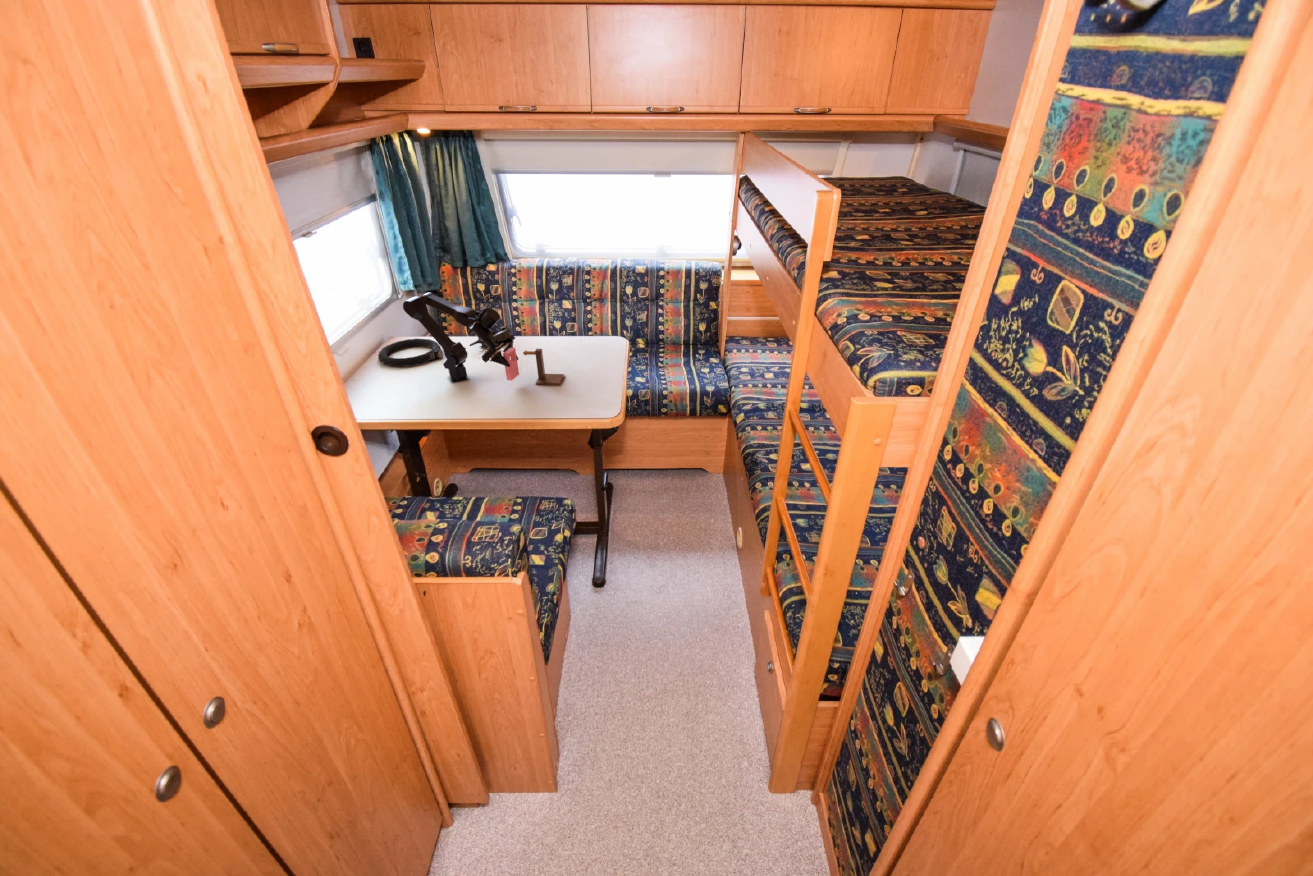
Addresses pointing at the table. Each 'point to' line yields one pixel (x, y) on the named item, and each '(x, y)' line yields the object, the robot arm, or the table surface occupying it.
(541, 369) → the stand
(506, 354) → the pink tunnel block
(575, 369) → the table surface
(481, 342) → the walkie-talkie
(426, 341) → the ring
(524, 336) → the table surface
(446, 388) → the table surface
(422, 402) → the table surface
